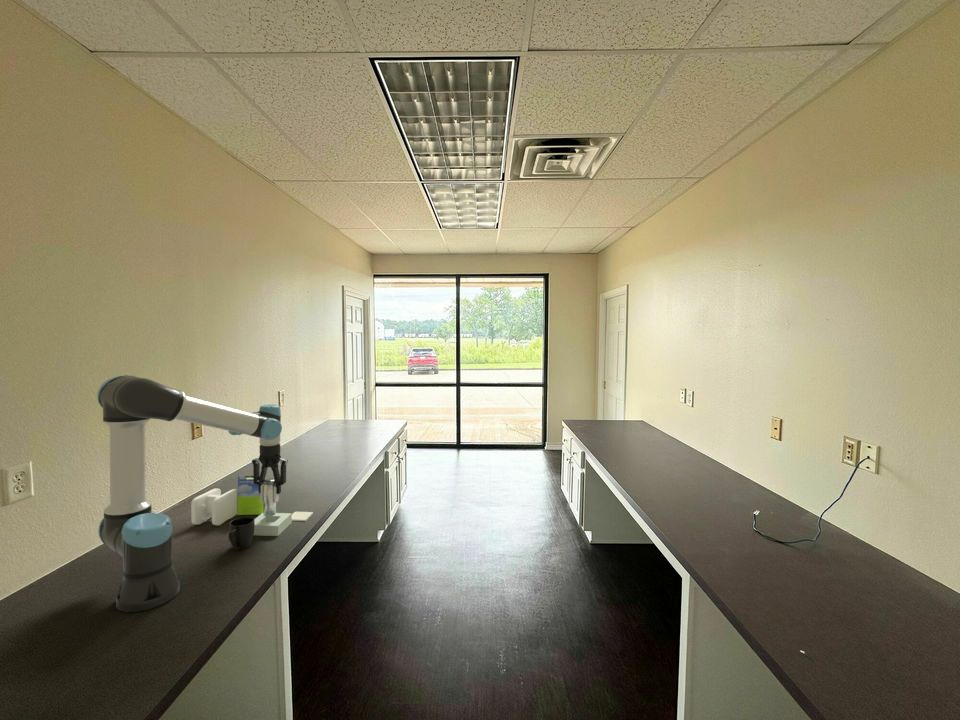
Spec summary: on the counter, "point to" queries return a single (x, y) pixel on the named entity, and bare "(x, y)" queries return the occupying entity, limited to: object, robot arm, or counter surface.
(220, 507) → the cable organizer
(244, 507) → the box
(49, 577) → the counter surface
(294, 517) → the coaster
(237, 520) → the mug
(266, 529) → the housing
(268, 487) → the brushed metal cylinder
